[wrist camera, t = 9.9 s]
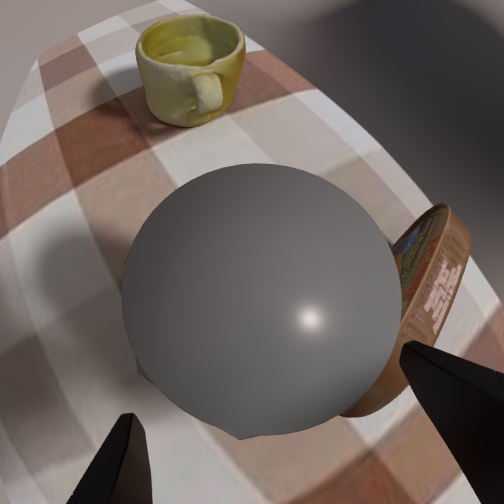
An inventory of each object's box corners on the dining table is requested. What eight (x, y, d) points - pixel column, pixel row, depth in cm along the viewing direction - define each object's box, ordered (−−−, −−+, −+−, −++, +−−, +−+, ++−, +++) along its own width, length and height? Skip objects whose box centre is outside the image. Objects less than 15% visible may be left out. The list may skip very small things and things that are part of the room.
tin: (397, 233, 23) (454, 176, 16) (424, 256, 23) (487, 207, 15) (290, 390, 18) (332, 400, 11) (326, 416, 18) (386, 437, 10)
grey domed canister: (283, 278, 21) (350, 153, 9) (309, 380, 19) (429, 380, 7) (179, 298, 20) (116, 186, 8) (199, 404, 17) (150, 457, 6)
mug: (133, 66, 27) (149, -6, 18) (220, 76, 31) (256, 14, 22) (119, 159, 25) (126, 85, 16) (226, 165, 29) (274, 105, 20)
